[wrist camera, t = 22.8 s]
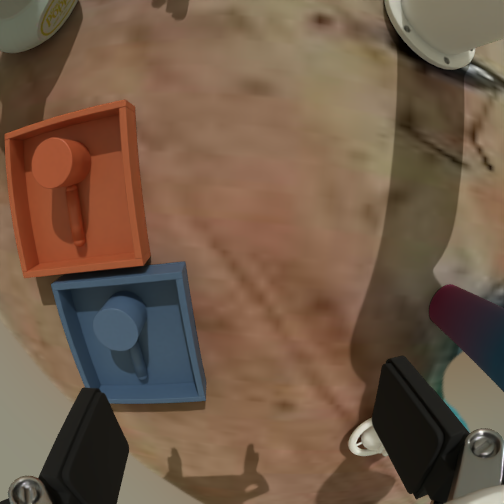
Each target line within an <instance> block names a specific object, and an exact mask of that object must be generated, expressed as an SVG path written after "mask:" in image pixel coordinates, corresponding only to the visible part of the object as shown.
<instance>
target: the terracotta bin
mask: <svg viewBox="0 0 504 504" xmlns="http://www.w3.org/2000/svg"><path fill="white" fill-rule="evenodd" d="M53 137H56V138H62V139H68V140H74V141H79V142H81V143H83V144H84V145H85V146H86V147H87V148H88V150H89V152H90V156H91V166H90V170H89V173H88V175H87V176H86V178H85V179H84V180H83V181H82V182H80V183H79V184H77V187H78V192H79V200H80V208H81V215H82V221H83V227H84V234H85V244H84V245H83V246H81V247H77V246H75V245H74V243H73V239H72V234H71V228H70V222H69V215H68V208H67V201H66V193H65V189H66V187H60V188H53V189H47V188H44V187H42V186H40V185H39V184H38V183H37V182H36V180H35V178H34V176H33V173H32V158H33V155H34V152H35V150H36V149H37V147H38V146H39V145H40V144H41V143H42V142H43V141H44V140H46V139H49V138H53ZM5 156H6V171H7V183H8V192H9V200H10V208H11V215H12V221H13V227H14V233H15V239H16V244H17V249H18V254H19V258H20V263H21V267H22V271H23V276H24V278H30V277H40V276H50V275H59V274H69V273H78V272H88V271H97V270H107V269H116V268H126V267H135V266H143V265H144V264H145V263H146V262H147V260H148V259H149V257H150V256H151V254H150V248H149V242H148V235H147V228H146V221H145V213H144V205H143V197H142V188H141V179H140V169H139V159H138V147H137V134H136V118H135V106H133V105H132V104H131V103H129V102H128V101H127V100H121V101H116V102H111V103H107V104H102V105H98V106H94V107H90V108H86V109H82V110H78V111H74V112H71V113H67V114H64V115H60V116H57V117H54V118H50V119H47V120H44V121H41V122H38V123H35V124H32V125H29V126H26V127H23V128H20V129H17V130H15V131H12V132H9V133H6V134H5Z"/></svg>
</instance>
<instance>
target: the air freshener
mask: <svg viewBox="0 0 504 504" xmlns="http://www.w3.org/2000/svg"><path fill="white" fill-rule="evenodd" d="M77 1H78V0H0V51H2V52H7V53H18V52H23V51H26V50H29V49H32V48H34V47H36V46H38V45H40V44H41V43H43V42H44V41H46V40H47V39H49V38H50V37H51V36H53V35H54V34H55V33H56V32H57V31H58V30H59V29H60V27H61V26H62V25H63V24H64V22H65V21H66V20H67V18H68V17H69V15H70V14H71V12H72V10H73V9H74V7H75V5H76V3H77Z"/></svg>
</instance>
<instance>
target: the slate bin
mask: <svg viewBox="0 0 504 504" xmlns="http://www.w3.org/2000/svg"><path fill="white" fill-rule="evenodd" d="M51 287H52V290H53V294H54V298H55V302H56V305H57V309H58V312H59V316H60V319H61V322H62V325H63V328H64V332H65V335H66V338H67V341H68V343H69V346H70V349H71V352H72V355H73V357H74V360H75V363H76V365H77V368H78V371H79V373H80V376H81V378H82V381H83V383H84V386H85V388H98V389H100V390H101V392H102V393H105V394H106V396H107V399H108V401H109V403H114V404H150V403H179V402H196V401H206V379H205V374H204V369H203V364H202V359H201V354H200V348H199V343H198V337H197V332H196V326H195V320H194V315H193V309H192V302H191V296H190V290H189V283H188V277H187V270H186V263H185V262H175V263H166V264H156V265H147V266H138V267H128V268H119V269H109V270H100V271H90V272H80V273H71V274H64V275H63V276H61V277H60V278H59V279H57V280H56V281H55V282H54V283H52V284H51ZM119 291H129V292H132V293H134V294H136V295H137V296H139V297H140V298H141V299H142V301H143V302H144V304H145V306H146V309H147V318H146V321H145V323H144V326H143V328H142V330H141V333H140V335H139V337H138V341H139V345H140V348H141V352H142V355H143V359H144V362H145V366H146V369H147V373H148V376H147V378H146V379H144V380H140V379H138V378H137V376H136V373H135V370H134V367H133V363H132V360H131V357H130V353H129V350H125V351H115V350H112V349H109V348H107V347H106V346H104V345H103V344H102V343H101V342H100V341H99V340H98V338H97V337H96V335H95V332H94V328H93V322H94V319H95V316H96V315H97V314H98V312H99V311H100V310H101V308H102V307H103V306H104V305H105V303H106V302H107V301H108V299H109V298H110V297H111V296H112V295H113V294H114V293H116V292H119Z"/></svg>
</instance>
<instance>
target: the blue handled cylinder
mask: <svg viewBox="0 0 504 504" xmlns="http://www.w3.org/2000/svg"><path fill="white" fill-rule="evenodd" d="M146 318H147V309H146V306H145V304H144V302H143V301H142V299H141V298H140V297H139V296H137V295H136V294H134V293H132V292H129V291H119V292H116V293H114V294H113V295H112V296H111V297H110V298H109V299H108V301H107V302H106V303H105V305H104V306H103V307H102V308H101V310H100V311H99V312H98V314H97V315H96V316H95V319H94V322H93V328H94V332H95V335H96V337H97V338H98V340H99V341H100V342H101V343H102V344H103V345H104V346H106V347H107V348H109V349H112V350H115V351H125V350H129V353H130V357H131V360H132V363H133V367H134V370H135V373H136V376H137V378H138V379H140V380H144V379H146V378H147V376H148V373H147V369H146V366H145V362H144V359H143V355H142V352H141V348H140V345H139V341H138V337H139V335H140V333H141V330H142V328H143V326H144V323H145V321H146Z"/></svg>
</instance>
